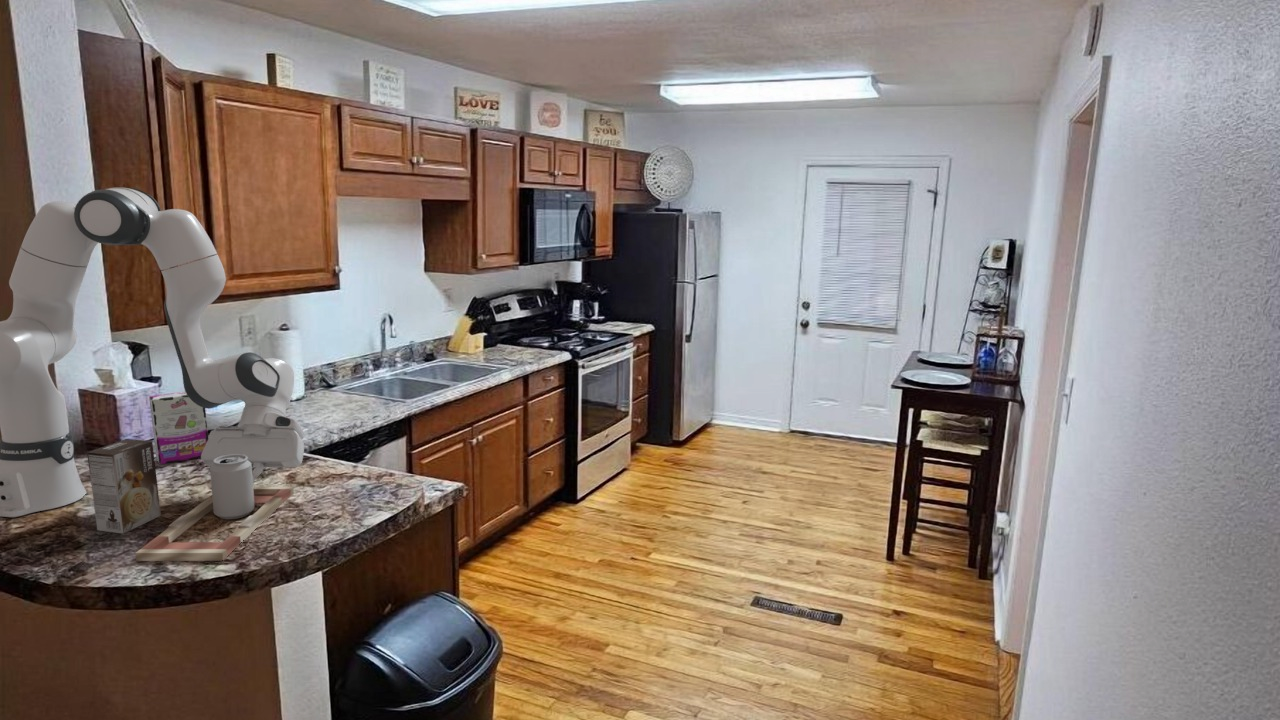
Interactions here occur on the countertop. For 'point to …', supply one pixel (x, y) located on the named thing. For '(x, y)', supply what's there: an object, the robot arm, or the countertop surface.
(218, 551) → the flat rectangular frame
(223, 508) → the can
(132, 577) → the countertop surface
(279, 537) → the countertop surface
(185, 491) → the countertop surface
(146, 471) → the coffee box
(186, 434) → the candy bar box
